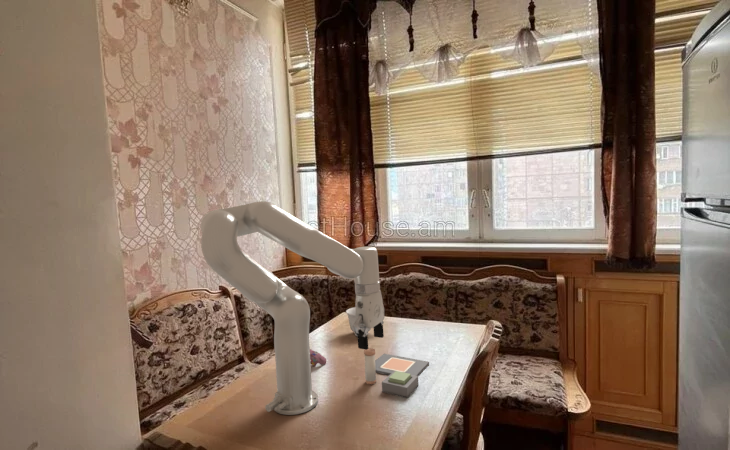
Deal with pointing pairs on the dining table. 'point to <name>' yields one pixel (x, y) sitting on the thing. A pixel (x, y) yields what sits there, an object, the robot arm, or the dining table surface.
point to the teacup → (353, 319)
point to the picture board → (399, 365)
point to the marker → (370, 366)
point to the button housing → (400, 387)
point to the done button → (400, 377)
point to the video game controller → (316, 358)
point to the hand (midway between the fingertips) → (371, 342)
